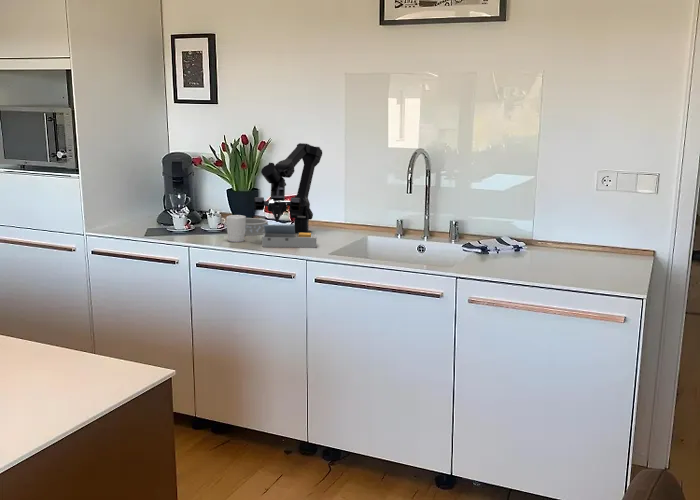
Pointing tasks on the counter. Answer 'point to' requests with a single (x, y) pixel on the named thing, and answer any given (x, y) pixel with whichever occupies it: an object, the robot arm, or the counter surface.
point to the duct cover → (279, 229)
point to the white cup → (236, 228)
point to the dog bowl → (254, 226)
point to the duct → (288, 241)
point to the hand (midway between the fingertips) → (276, 221)
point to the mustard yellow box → (304, 235)
